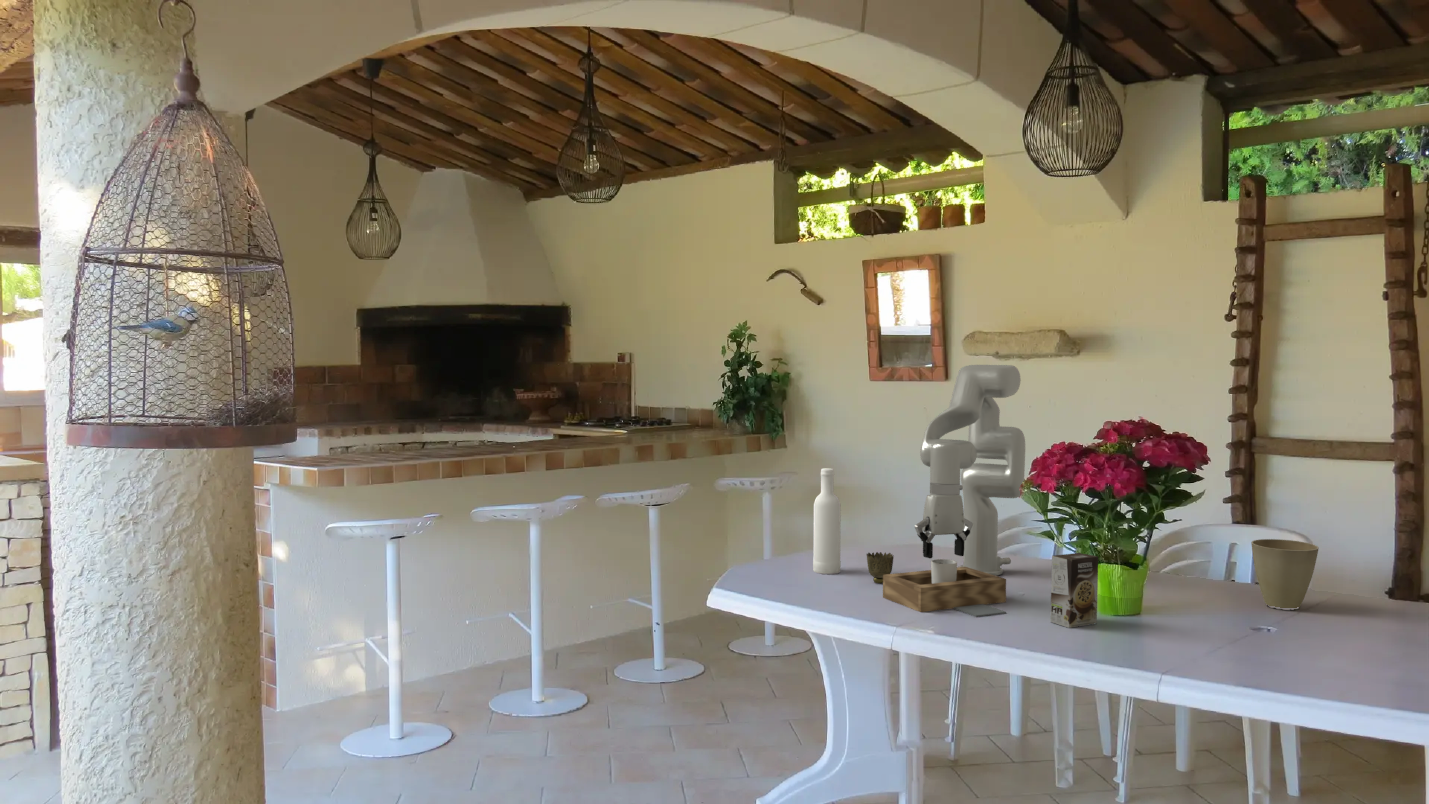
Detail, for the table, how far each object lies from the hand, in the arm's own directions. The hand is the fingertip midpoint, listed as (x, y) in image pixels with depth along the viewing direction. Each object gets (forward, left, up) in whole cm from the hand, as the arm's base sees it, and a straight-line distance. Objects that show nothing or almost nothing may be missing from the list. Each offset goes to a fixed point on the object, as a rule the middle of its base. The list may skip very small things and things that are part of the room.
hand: (943, 556), depth 279 cm
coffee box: (-15, +32, -12) cm, 37 cm away
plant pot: (-74, +41, -12) cm, 85 cm away
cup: (+3, -24, -12) cm, 27 cm away
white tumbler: (-1, 0, -12) cm, 12 cm away
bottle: (+9, -43, -12) cm, 46 cm away
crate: (-1, 0, -11) cm, 11 cm away
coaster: (-2, +13, -11) cm, 17 cm away
